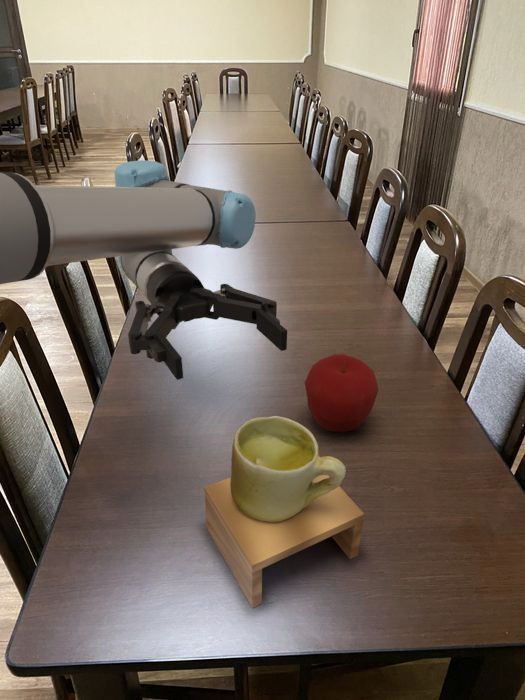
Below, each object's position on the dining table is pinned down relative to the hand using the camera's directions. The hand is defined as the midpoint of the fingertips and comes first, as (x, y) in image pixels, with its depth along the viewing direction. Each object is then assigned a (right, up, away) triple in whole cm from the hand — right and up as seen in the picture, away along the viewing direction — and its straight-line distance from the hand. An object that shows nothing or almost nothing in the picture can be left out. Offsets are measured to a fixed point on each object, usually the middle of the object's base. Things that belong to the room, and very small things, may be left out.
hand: (234, 354), depth 63 cm
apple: (+15, -11, +21) cm, 28 cm away
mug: (+6, -17, -2) cm, 18 cm away
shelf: (+5, -22, +2) cm, 23 cm away
